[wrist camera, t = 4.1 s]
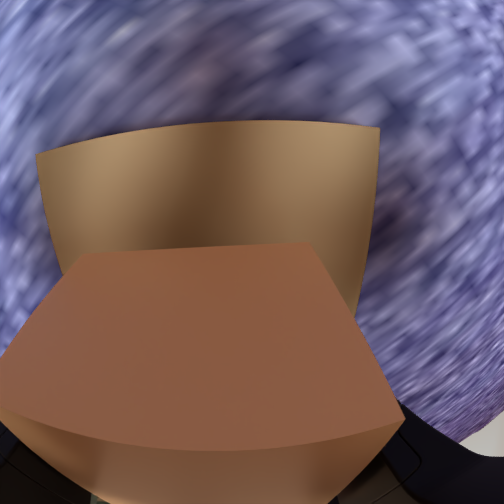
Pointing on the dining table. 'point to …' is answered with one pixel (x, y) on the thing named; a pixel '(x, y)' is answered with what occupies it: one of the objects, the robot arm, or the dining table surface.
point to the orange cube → (199, 378)
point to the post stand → (218, 191)
